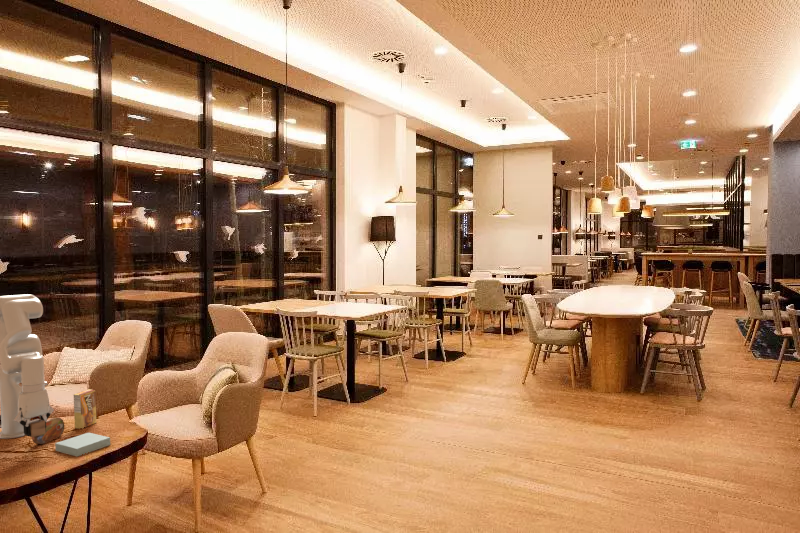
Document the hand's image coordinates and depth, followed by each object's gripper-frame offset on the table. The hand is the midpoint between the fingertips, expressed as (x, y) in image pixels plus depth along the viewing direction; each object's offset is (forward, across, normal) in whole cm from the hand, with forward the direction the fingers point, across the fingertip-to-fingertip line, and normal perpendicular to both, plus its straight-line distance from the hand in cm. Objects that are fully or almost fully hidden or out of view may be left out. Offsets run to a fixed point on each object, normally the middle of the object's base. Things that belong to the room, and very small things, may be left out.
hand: (35, 432), depth 228 cm
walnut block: (+1, 0, 0) cm, 1 cm away
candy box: (+9, -30, -14) cm, 34 cm away
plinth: (+8, -12, +12) cm, 18 cm away
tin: (+9, -11, -10) cm, 17 cm away
